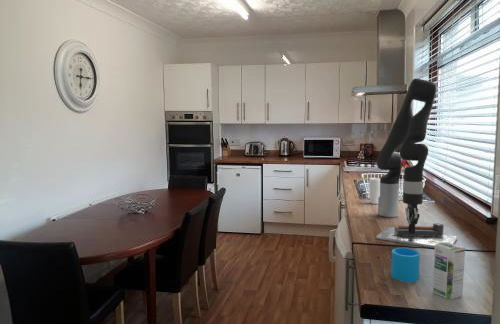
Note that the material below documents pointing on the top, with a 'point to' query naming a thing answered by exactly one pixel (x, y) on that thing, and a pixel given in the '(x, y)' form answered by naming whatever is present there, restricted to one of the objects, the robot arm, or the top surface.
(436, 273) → the syrup box
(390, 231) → the panel
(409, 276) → the mug
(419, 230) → the cable arm
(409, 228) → the robot arm
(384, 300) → the top surface
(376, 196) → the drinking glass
